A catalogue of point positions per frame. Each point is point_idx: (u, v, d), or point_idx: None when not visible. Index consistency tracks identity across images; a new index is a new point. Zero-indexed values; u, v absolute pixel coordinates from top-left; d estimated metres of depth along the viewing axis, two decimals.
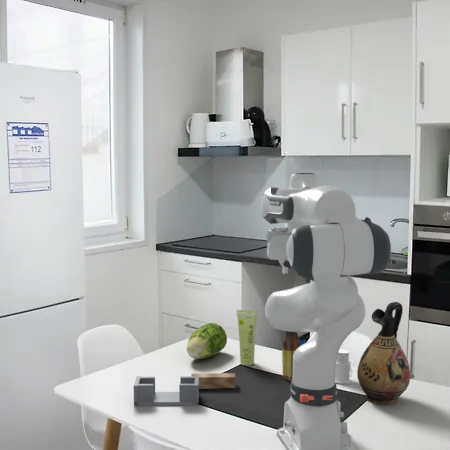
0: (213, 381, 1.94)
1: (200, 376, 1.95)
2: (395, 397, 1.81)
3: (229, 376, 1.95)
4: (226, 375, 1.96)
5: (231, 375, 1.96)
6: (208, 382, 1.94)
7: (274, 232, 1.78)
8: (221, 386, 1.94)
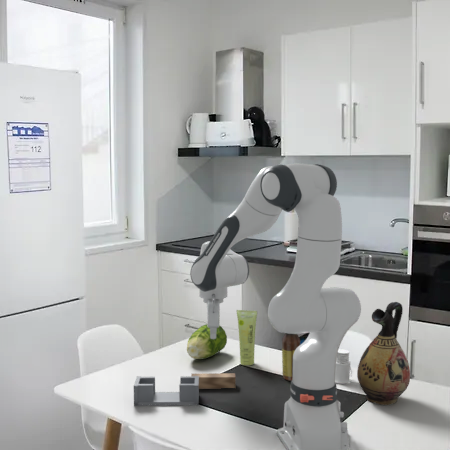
0: (213, 381, 1.94)
1: (200, 376, 1.95)
2: (395, 397, 1.81)
3: (229, 376, 1.95)
4: (226, 375, 1.96)
5: (231, 375, 1.96)
6: (208, 382, 1.94)
7: (214, 301, 1.85)
8: (221, 386, 1.94)
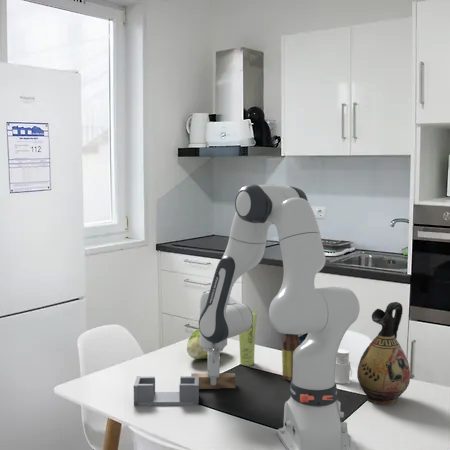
0: None
1: (200, 376, 1.95)
2: (395, 397, 1.81)
3: (229, 376, 1.95)
4: (226, 375, 1.96)
5: (231, 375, 1.96)
6: (208, 381, 1.94)
7: (214, 351, 1.86)
8: (221, 386, 1.94)
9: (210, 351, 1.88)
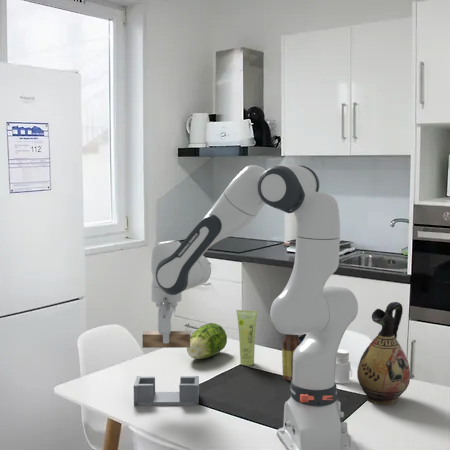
0: None
1: (152, 333, 1.82)
2: (395, 397, 1.81)
3: (183, 333, 1.82)
4: (181, 332, 1.83)
5: (186, 333, 1.82)
6: (160, 339, 1.81)
7: (165, 305, 1.73)
8: (175, 344, 1.81)
9: (161, 306, 1.75)
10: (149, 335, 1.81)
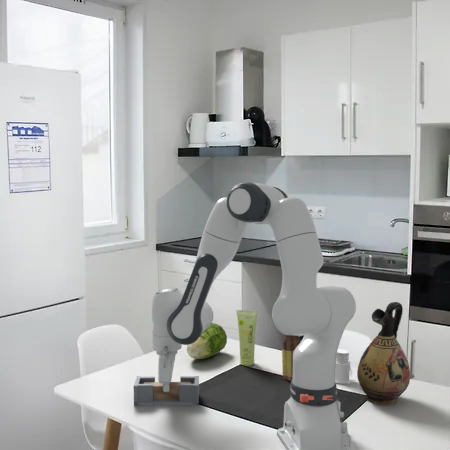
0: None
1: (153, 385, 1.83)
2: (395, 397, 1.81)
3: None
4: (181, 383, 1.84)
5: None
6: (161, 391, 1.83)
7: (166, 355, 1.75)
8: (175, 396, 1.83)
9: (161, 355, 1.76)
10: None
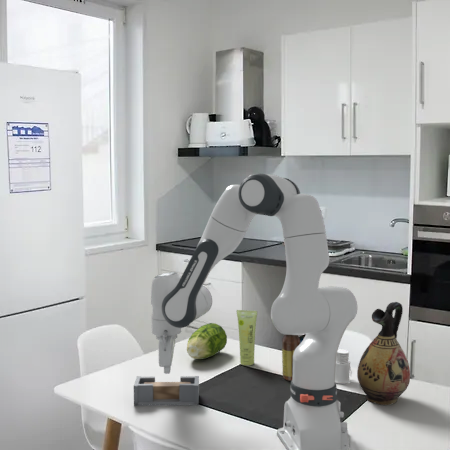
0: (166, 391, 1.83)
1: (153, 385, 1.83)
2: (395, 397, 1.81)
3: None
4: (181, 383, 1.84)
5: None
6: (161, 391, 1.83)
7: (166, 338, 1.74)
8: (175, 396, 1.83)
9: (161, 338, 1.75)
10: None
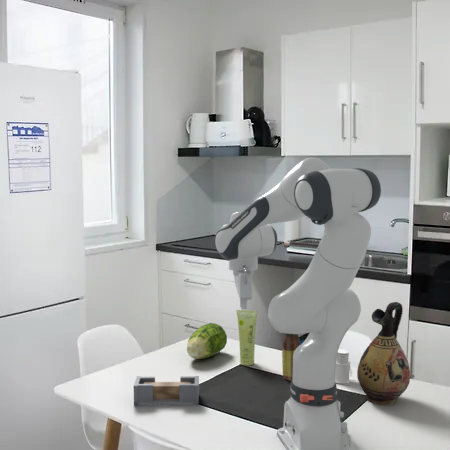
0: (166, 391, 1.83)
1: (153, 385, 1.83)
2: (395, 397, 1.81)
3: None
4: (181, 383, 1.84)
5: None
6: (161, 391, 1.83)
7: (246, 272, 1.79)
8: (175, 396, 1.83)
9: (241, 273, 1.81)
10: None
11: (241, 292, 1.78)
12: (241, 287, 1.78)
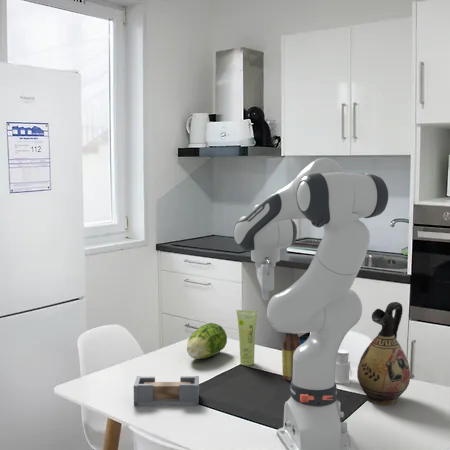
0: (166, 391, 1.83)
1: (153, 385, 1.83)
2: (395, 397, 1.81)
3: None
4: (181, 383, 1.84)
5: None
6: (161, 391, 1.83)
7: (269, 263, 1.81)
8: (175, 396, 1.83)
9: (264, 264, 1.82)
10: None
11: (263, 283, 1.80)
12: (263, 278, 1.80)
